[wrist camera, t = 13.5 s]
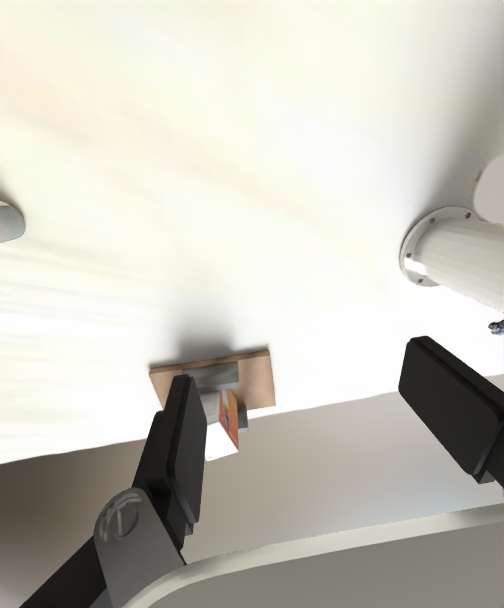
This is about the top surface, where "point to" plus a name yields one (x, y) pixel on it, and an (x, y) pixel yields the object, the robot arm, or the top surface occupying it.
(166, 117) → the top surface
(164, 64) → the top surface
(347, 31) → the top surface
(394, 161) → the top surface
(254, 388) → the holder stand
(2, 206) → the reed diffuser
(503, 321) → the blueberries
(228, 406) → the small box
